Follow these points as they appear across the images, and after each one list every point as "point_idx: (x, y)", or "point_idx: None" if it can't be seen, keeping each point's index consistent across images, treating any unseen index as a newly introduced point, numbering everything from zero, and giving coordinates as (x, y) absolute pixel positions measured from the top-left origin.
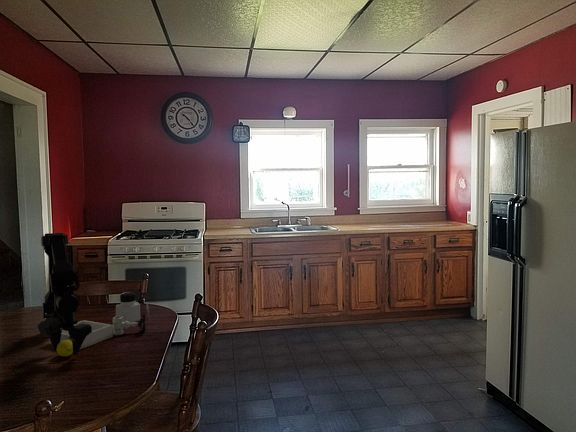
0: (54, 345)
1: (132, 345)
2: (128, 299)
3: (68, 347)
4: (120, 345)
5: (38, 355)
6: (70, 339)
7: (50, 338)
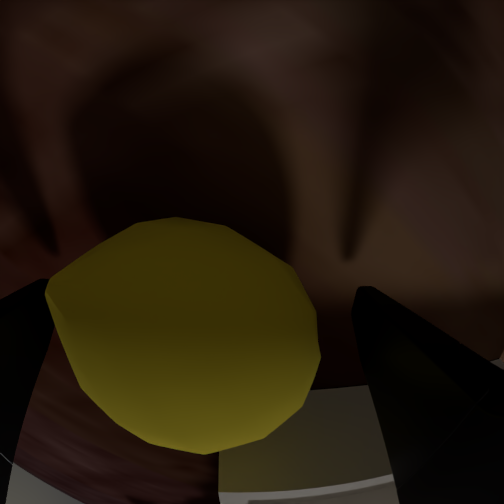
0: (388, 326)
1: (50, 453)
2: None
3: (54, 321)
4: (85, 455)
5: (477, 185)
6: (331, 453)
7: (485, 379)
